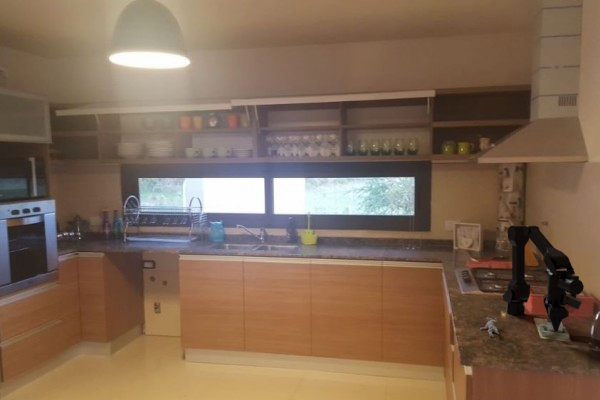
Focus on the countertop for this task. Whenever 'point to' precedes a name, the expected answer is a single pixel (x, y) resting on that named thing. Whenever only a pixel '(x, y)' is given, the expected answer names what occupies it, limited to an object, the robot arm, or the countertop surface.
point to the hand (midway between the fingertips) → (553, 326)
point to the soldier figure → (491, 326)
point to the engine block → (550, 327)
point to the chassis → (550, 335)
